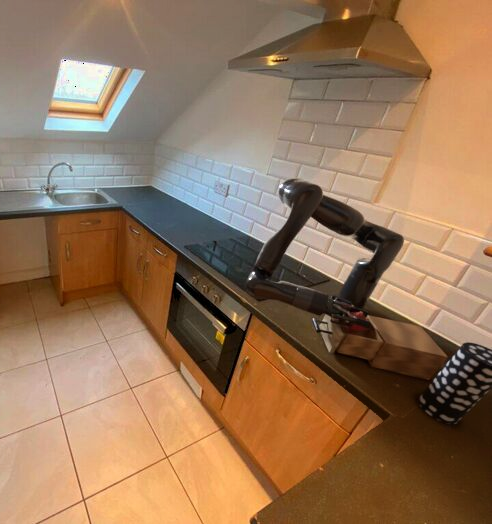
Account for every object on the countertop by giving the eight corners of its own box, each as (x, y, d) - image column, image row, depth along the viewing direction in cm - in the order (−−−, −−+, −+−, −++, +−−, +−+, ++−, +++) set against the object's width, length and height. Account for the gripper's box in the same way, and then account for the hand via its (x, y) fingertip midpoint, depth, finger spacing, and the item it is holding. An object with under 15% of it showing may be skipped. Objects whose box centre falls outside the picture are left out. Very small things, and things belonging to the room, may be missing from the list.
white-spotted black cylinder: (428, 392, 84) (473, 339, 75) (464, 419, 78) (519, 364, 68) (410, 400, 81) (455, 345, 72) (446, 428, 75) (500, 373, 65)
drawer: (313, 348, 94) (322, 330, 90) (304, 324, 105) (312, 306, 101) (380, 364, 91) (393, 346, 87) (364, 337, 101) (375, 320, 98)
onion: (341, 322, 99) (352, 303, 95) (361, 331, 96) (373, 311, 92) (338, 331, 95) (349, 311, 91) (359, 340, 92) (371, 320, 88)
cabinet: (371, 366, 91) (386, 343, 87) (354, 336, 103) (367, 315, 98) (428, 380, 88) (447, 356, 84) (405, 348, 100) (421, 326, 96)
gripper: (312, 301, 90) (378, 323, 84) (313, 280, 101) (371, 298, 95) (303, 320, 94) (365, 343, 87) (305, 298, 105) (360, 317, 99)
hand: (368, 319), depth 91 cm, fingers closed on onion, 5 cm apart
